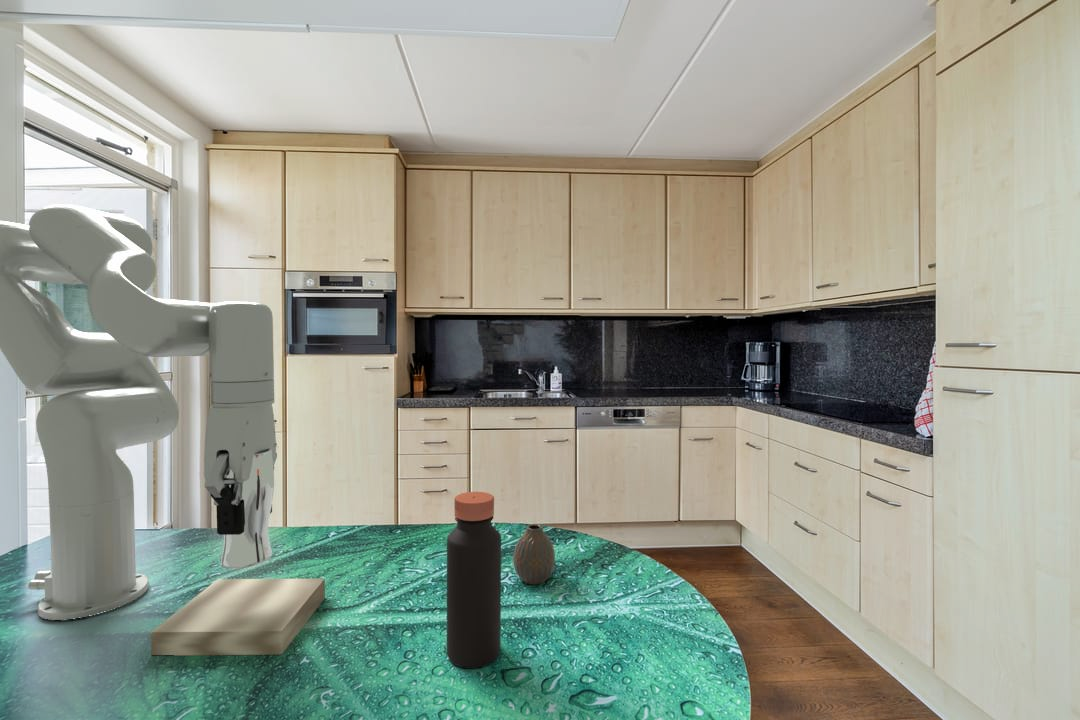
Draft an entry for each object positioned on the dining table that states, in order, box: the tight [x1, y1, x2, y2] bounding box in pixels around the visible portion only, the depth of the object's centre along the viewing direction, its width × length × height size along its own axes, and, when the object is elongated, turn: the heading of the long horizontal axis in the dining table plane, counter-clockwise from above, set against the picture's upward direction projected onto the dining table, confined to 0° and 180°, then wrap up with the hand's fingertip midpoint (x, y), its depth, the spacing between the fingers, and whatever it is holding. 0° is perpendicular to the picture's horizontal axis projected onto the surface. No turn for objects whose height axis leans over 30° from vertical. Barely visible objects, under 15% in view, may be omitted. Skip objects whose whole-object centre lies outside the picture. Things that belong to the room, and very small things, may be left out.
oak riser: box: [150, 578, 326, 656], centre depth 71 cm, size 16×14×3 cm
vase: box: [512, 523, 556, 585], centre depth 85 cm, size 7×7×9 cm
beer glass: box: [220, 448, 275, 570], centre depth 71 cm, size 7×7×15 cm
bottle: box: [446, 491, 502, 669], centre depth 65 cm, size 7×7×20 cm
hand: (246, 522), depth 71 cm, fingers closed on beer glass, 6 cm apart
